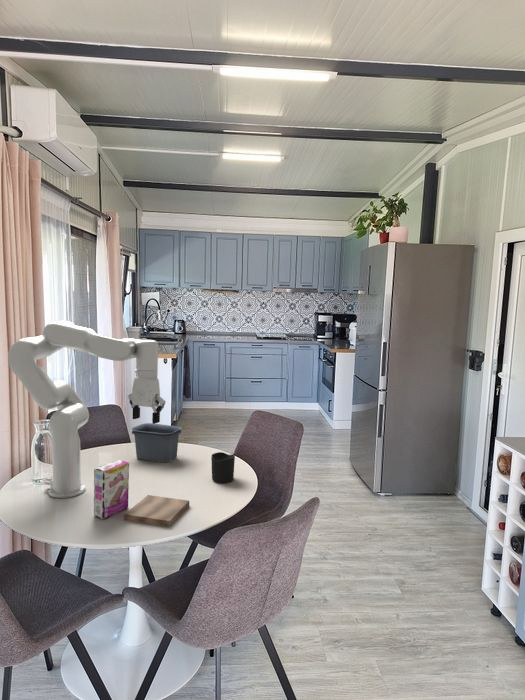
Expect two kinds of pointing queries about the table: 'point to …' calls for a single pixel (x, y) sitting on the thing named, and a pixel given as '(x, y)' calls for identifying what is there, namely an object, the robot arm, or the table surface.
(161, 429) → the storage bin
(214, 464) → the pen holder
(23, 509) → the table surface
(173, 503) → the walnut board
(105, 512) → the candy bar box
